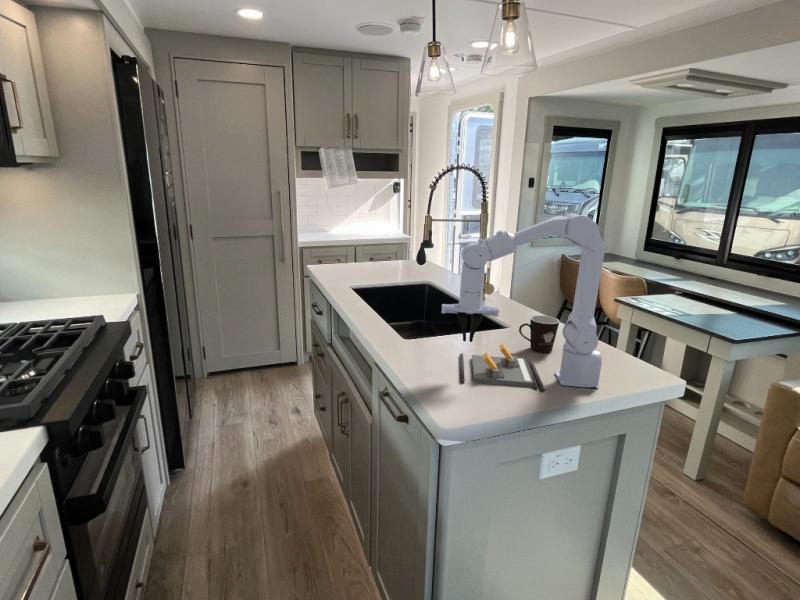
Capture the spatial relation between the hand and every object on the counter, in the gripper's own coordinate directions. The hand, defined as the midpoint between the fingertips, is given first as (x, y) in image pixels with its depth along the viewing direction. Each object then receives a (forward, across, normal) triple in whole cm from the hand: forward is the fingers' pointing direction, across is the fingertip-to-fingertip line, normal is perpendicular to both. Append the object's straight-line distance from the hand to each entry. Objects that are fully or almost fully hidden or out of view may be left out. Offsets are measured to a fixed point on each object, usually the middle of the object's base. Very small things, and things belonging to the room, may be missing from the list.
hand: (467, 340), depth 121 cm
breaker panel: (+10, -10, -4) cm, 14 cm away
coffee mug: (+10, -23, -24) cm, 35 cm away
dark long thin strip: (+10, -18, -3) cm, 21 cm away
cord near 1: (+10, -19, -3) cm, 22 cm away
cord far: (+10, +1, -4) cm, 11 cm away
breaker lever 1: (+7, -8, 0) cm, 11 cm away
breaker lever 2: (+7, -13, -8) cm, 17 cm away
